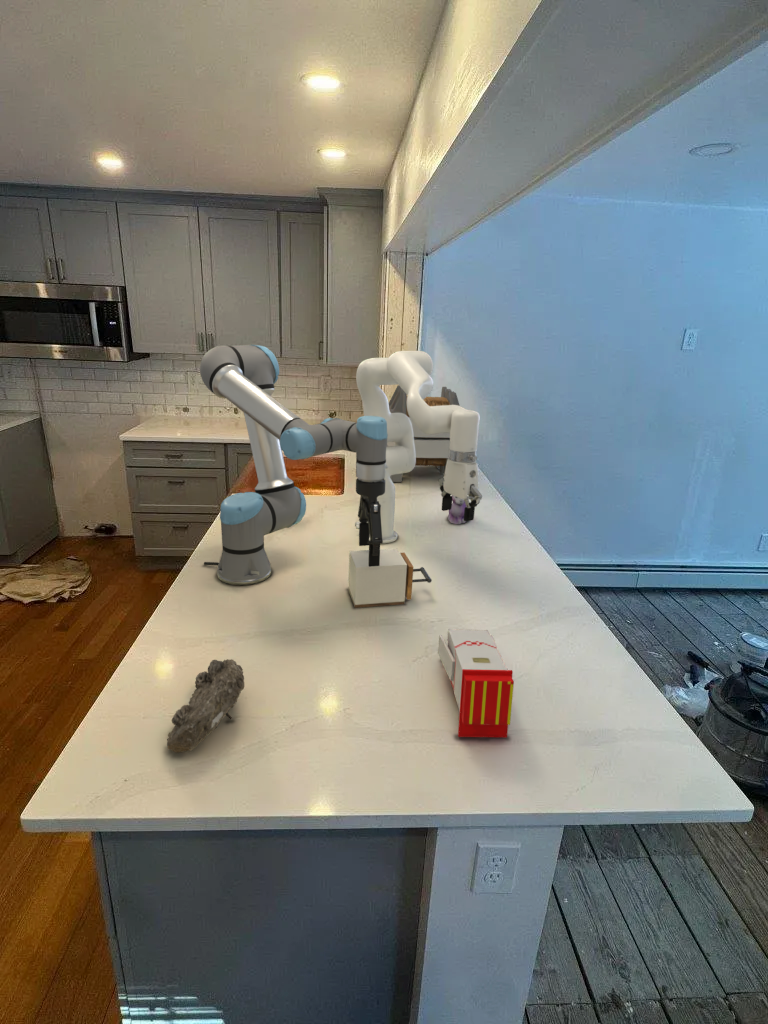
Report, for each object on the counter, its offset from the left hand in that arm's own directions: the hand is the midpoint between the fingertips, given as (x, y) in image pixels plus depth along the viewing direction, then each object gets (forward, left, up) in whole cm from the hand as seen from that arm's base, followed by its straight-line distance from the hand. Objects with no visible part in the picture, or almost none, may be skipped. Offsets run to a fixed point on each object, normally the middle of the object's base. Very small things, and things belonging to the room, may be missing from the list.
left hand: (368, 555), depth 151 cm
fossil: (-14, -55, -13) cm, 58 cm away
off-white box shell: (+2, +1, -13) cm, 13 cm away
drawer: (+7, +4, -12) cm, 14 cm away
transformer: (-13, +128, -13) cm, 130 cm away
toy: (+32, -32, -13) cm, 47 cm away
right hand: (+20, +18, +8) cm, 28 cm away
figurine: (+14, +70, -13) cm, 72 cm away
